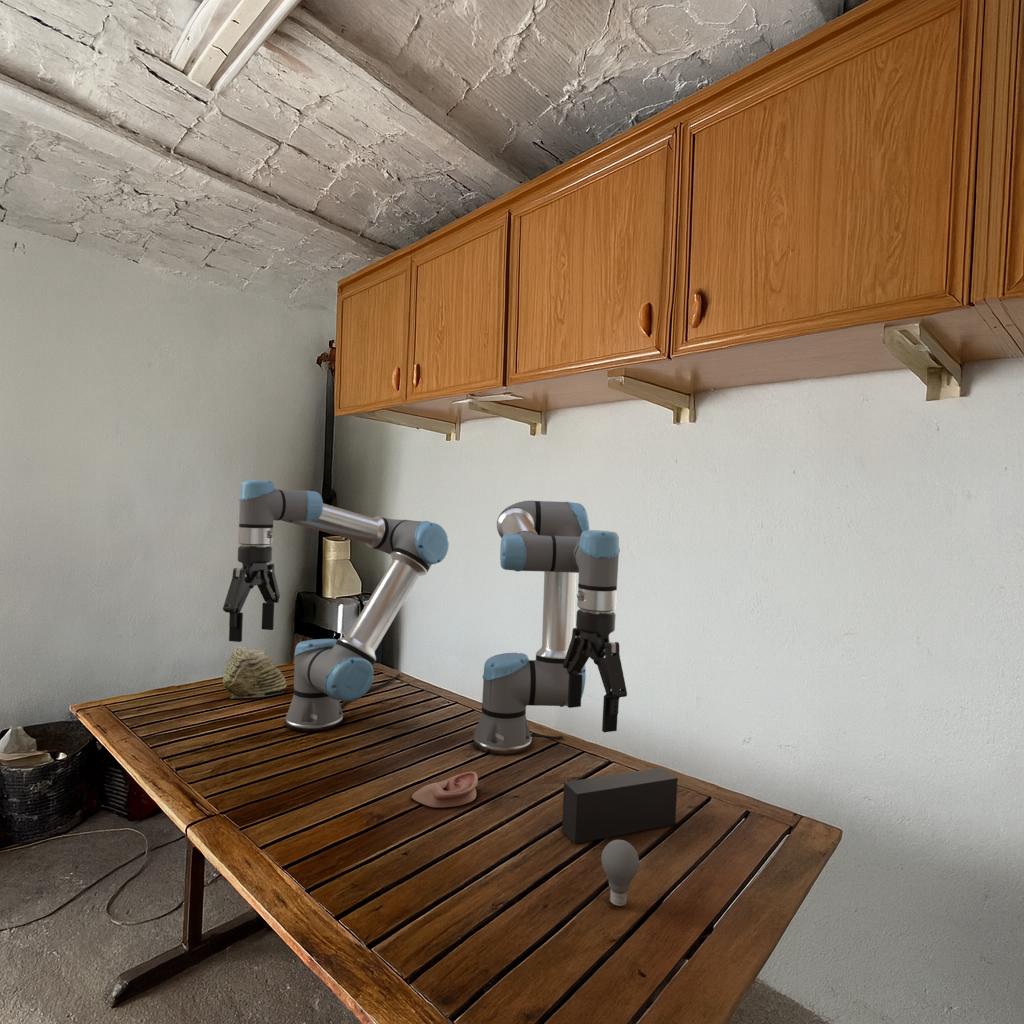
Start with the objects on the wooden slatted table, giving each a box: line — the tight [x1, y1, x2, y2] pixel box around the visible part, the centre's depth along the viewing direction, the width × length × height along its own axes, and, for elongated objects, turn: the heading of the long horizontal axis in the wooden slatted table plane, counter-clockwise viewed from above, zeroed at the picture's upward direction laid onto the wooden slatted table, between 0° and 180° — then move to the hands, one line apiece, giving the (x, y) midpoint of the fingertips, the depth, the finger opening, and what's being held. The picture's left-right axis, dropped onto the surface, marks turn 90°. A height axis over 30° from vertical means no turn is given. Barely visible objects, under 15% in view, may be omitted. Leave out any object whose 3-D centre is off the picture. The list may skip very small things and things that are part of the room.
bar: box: [561, 766, 679, 845], centre depth 127 cm, size 23×5×10 cm, turn 113°
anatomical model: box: [411, 771, 479, 809], centre depth 136 cm, size 13×4×12 cm
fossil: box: [222, 646, 288, 699], centre depth 198 cm, size 9×18×15 cm, turn 132°
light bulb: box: [600, 839, 640, 907], centre depth 102 cm, size 6×6×10 cm
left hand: (252, 635), depth 150 cm, fingers open, 13 cm apart
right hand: (590, 718), depth 124 cm, fingers open, 13 cm apart
